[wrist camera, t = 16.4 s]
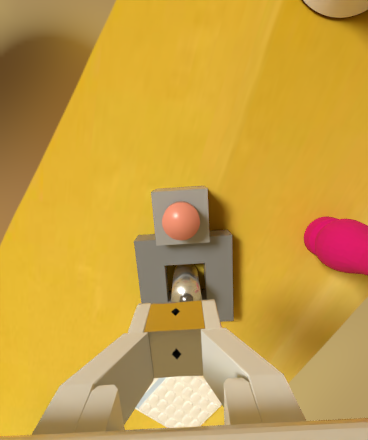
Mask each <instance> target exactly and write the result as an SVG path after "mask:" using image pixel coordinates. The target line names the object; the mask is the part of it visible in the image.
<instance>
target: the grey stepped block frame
mask: <svg viewBox="0 0 368 440" xmlns="http://www.w3.org/2000/svg"><path fill="white" fill-rule="evenodd" d="M151 196H152V206H153V217H154V227H155V234H151V235H138V237H137V238H136V239H135V241H134V245H135V253H136V261H137V270H138V278H139V286H140V294H141V302H142V303H163V302H171V295H172V291H169V286H168V275H167V265H182V264H198V263H204V281H205V289H200V290H201V297H202V300H209V299H214V300H215V303H216V307H217V311H218V315H219V319H220V322H222V321H233V259H232V234H231V233H230V232H229V231H228V230H214V231H209V212H208V188H206V187H204V186H193V187H177V188H162V189H155V190H154V191H152V192H151ZM178 201H185V202H188V203H190V204H191V205H193V206H194V207H195V208H196V210H197V212H198V215H199V218H200V226H199V229H198V231H197V233H196V234H195V235H194V236H193V237H191V238H189V239H187V240H175V239H173V238H171V237H169V236H168V235H167V234H166V233H165V231H164V229H163V226H162V218H163V215H164V213H165V211H166V209H167V208H168V206H169V205H171V204H172V203H174V202H178Z"/></svg>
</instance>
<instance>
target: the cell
mask: <svg viewBox="0 0 368 440" xmlns="http://www.w3.org/2000/svg"><path fill="white" fill-rule="evenodd" d="M201 300H202V297H201V290H200V283H199V276H198V270H197V268H196V267H195V266H194V265H193V264H182V265H177V266H176V268H175V269H174V274H173V284H172V295H171V302H188V301H201Z"/></svg>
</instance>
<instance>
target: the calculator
mask: <svg viewBox="0 0 368 440" xmlns="http://www.w3.org/2000/svg"><path fill="white" fill-rule="evenodd" d="M221 405H222V404H221V402H220V401H219V399H218V398H217V396H216V395H215V393H214V392H213V391H212V389H211V388H210V386H209V385H208V383H207V382H206V380H205V379H204V377H203V376H177V377H165V378H154V381H153V382H152V384H151V385H150V387H149V388H148V390H147V391H146V393H145V394H144V396H143V397H142V399H141V400H140V402H139V403H138V405H137V406H136V408H135V409H136V410H138V411H140V412H141V413H143V414H145V415H147V416H148V417H150V418H152V419H154V420H155V421H157V422H159V423H161V424H162V425H164V426H166V427H168V428H178V427H198V426H201V425H202V424H203V423H204V422H205V421H206V420H207V419H208V418H209V417H210V416H211V415H212V414H213V413H214V412H215V411H216V410H217V409H218V408H219V407H220V406H221Z"/></svg>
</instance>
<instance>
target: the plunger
mask: <svg viewBox="0 0 368 440" xmlns="http://www.w3.org/2000/svg"><path fill="white" fill-rule="evenodd" d="M162 226H163V229H164V231H165V233H166V234H167V235H168V236H169V237H171V238H173V239H175V240H187V239H189V238H191V237H193V236H194V235H195V234H196V233H197V231H198V229H199V226H200V218H199V215H198V212H197V210H196V208H195V207H194V206H193V205H191V204H190V203H188V202H185V201H178V202H174V203H172V204H171V205H169V206H168V208H167V209H166V211H165V213H164V215H163V218H162Z"/></svg>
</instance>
